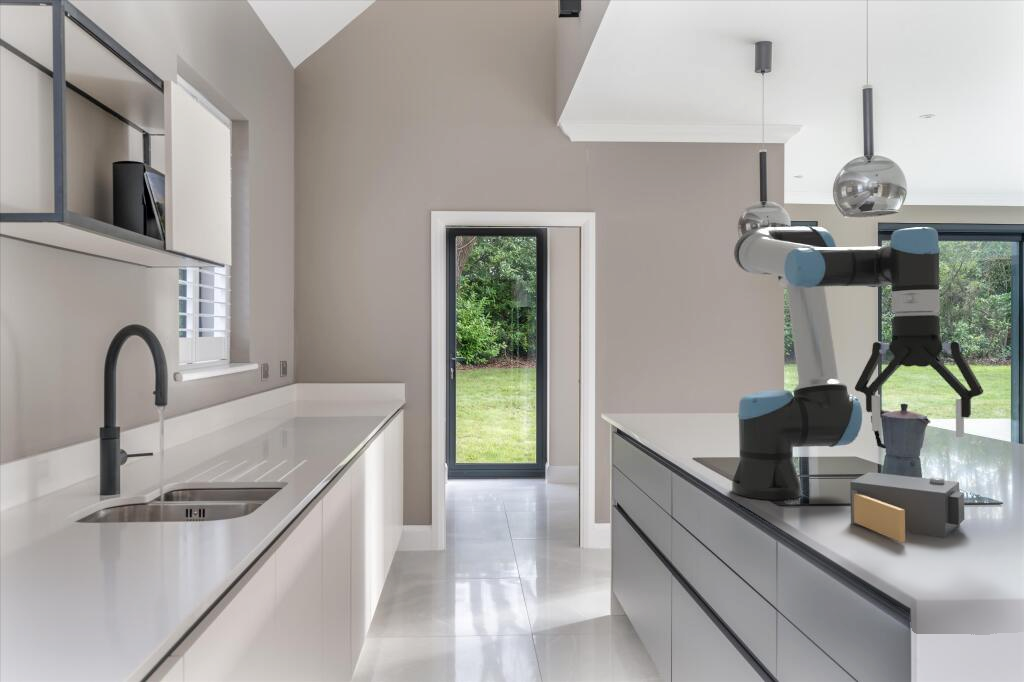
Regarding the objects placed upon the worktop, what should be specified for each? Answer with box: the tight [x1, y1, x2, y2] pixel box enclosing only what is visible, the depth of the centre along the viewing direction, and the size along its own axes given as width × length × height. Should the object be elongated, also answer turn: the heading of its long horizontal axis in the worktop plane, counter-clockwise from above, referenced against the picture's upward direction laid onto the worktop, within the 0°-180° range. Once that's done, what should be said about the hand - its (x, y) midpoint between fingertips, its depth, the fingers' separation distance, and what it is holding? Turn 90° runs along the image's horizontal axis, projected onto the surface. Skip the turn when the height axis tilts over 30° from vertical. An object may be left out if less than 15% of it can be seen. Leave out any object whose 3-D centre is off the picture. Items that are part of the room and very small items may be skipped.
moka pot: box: [870, 403, 931, 478], centre depth 168 cm, size 10×15×20 cm, turn 28°
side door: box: [851, 490, 906, 543], centre depth 131 cm, size 14×1×6 cm, turn 8°
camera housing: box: [849, 471, 965, 539], centre depth 137 cm, size 18×12×9 cm
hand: (916, 433), depth 129 cm, fingers open, 13 cm apart
